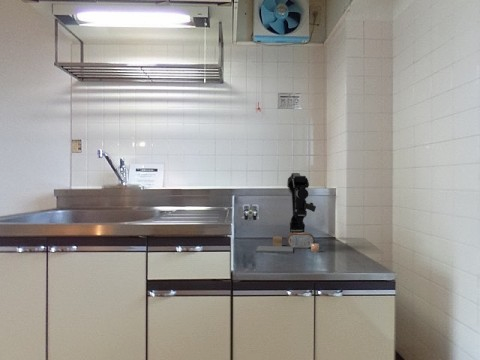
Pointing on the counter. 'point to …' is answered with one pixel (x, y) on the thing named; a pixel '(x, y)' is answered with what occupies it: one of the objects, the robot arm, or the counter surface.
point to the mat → (274, 249)
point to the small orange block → (314, 247)
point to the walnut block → (277, 241)
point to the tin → (300, 240)
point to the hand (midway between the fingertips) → (300, 226)
